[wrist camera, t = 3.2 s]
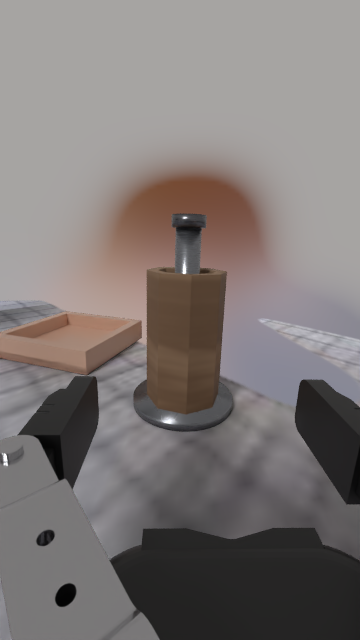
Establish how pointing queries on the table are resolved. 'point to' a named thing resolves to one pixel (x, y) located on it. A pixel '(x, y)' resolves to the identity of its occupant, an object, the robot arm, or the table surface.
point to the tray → (69, 341)
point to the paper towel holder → (146, 409)
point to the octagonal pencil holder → (184, 338)
